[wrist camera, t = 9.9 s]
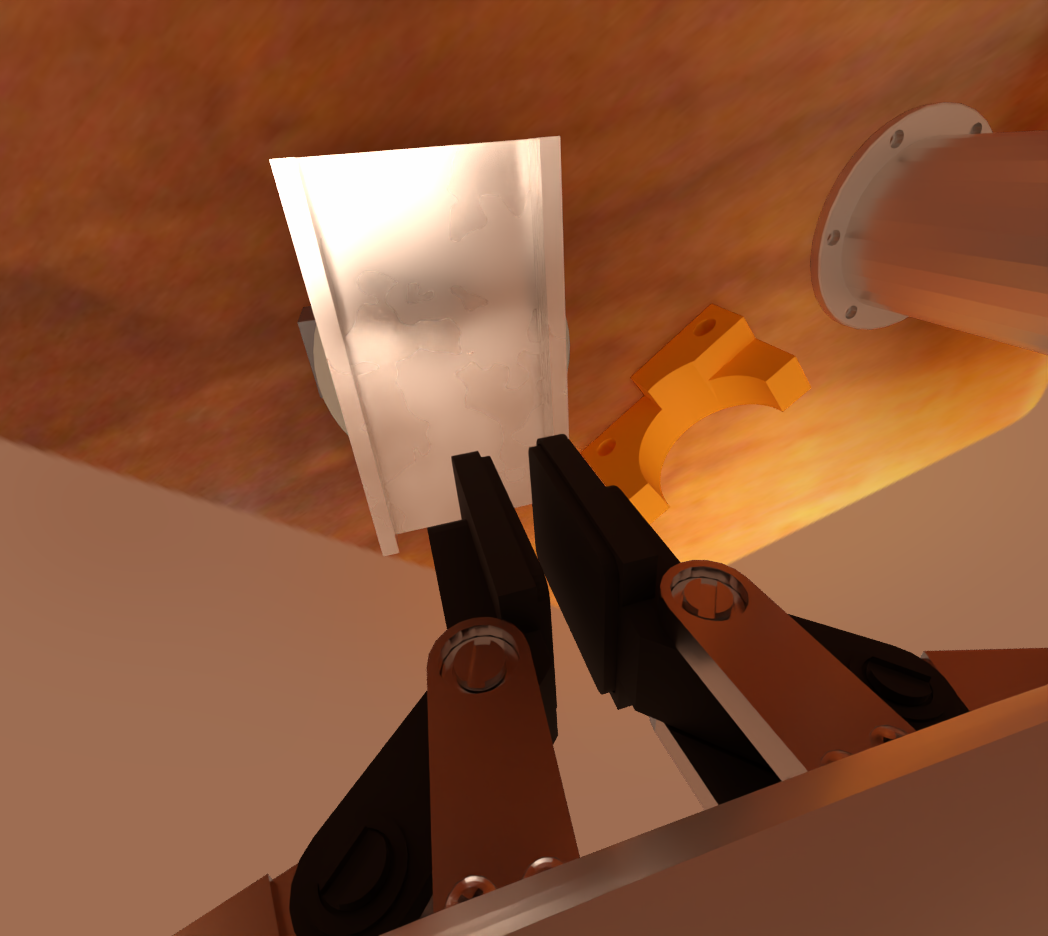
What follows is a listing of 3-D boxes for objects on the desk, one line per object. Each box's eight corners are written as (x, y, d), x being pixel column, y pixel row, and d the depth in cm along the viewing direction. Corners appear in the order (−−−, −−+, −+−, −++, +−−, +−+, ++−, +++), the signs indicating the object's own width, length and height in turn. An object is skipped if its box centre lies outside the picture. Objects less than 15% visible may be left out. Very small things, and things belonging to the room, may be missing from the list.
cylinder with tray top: (503, 145, 24) (600, 132, 14) (523, 399, 31) (598, 506, 21) (278, 163, 22) (217, 163, 12) (353, 430, 29) (351, 564, 19)
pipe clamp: (710, 303, 31) (783, 332, 26) (738, 351, 34) (811, 387, 28) (564, 436, 33) (604, 489, 28) (601, 473, 35) (644, 528, 30)
